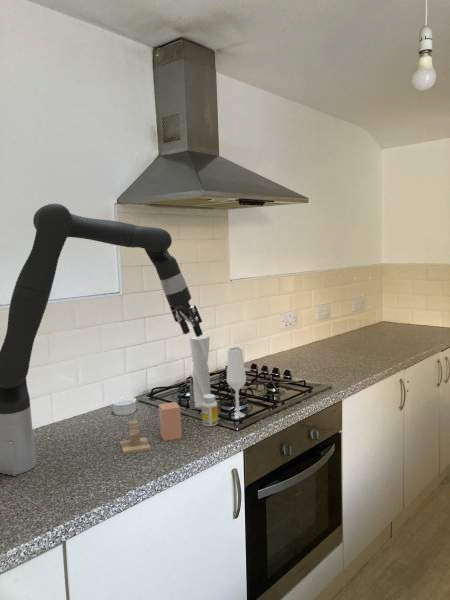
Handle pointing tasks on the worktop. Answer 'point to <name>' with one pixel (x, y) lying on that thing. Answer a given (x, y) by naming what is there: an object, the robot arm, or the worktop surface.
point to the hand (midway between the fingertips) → (193, 334)
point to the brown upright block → (170, 421)
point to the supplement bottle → (209, 410)
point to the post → (134, 440)
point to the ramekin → (124, 405)
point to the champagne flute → (236, 373)
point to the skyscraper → (199, 370)
